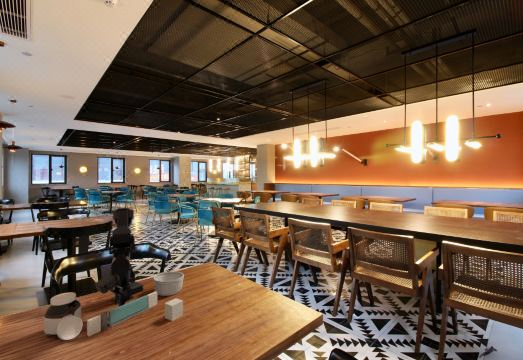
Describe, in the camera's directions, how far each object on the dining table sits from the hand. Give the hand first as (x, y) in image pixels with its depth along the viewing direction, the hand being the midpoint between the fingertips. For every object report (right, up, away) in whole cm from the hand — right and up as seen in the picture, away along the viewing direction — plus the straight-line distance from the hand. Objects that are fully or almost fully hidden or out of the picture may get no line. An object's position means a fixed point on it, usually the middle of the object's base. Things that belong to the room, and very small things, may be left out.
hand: (121, 307), depth 98 cm
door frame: (+3, -3, -2) cm, 5 cm away
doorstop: (+20, -3, 0) cm, 20 cm away
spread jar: (-12, -3, -11) cm, 17 cm away
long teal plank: (+3, -2, -1) cm, 4 cm away
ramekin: (+10, -3, +22) cm, 24 cm away
